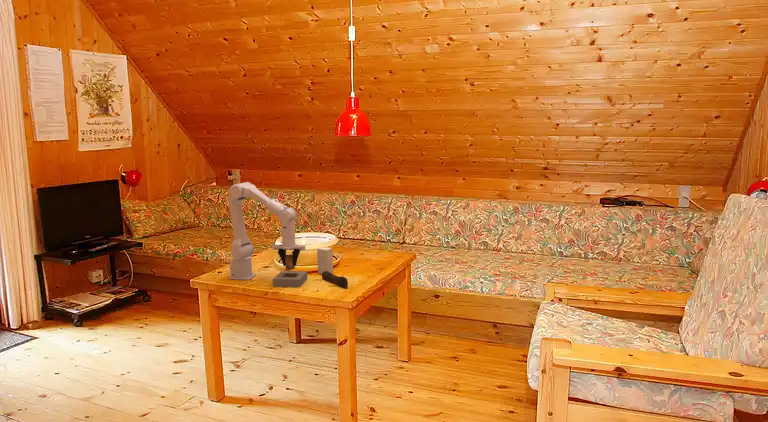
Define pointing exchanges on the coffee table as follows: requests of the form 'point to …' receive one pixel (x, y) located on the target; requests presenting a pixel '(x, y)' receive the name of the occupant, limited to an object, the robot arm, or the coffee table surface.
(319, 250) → the skincare box
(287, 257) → the walnut peg
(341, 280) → the hand tool
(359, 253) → the coffee table surface
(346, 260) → the coffee table surface
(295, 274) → the socket stand
